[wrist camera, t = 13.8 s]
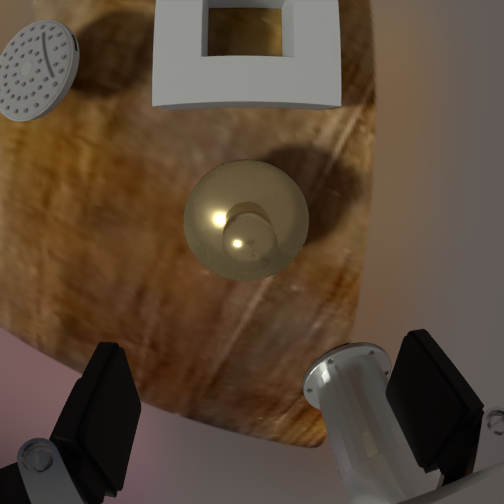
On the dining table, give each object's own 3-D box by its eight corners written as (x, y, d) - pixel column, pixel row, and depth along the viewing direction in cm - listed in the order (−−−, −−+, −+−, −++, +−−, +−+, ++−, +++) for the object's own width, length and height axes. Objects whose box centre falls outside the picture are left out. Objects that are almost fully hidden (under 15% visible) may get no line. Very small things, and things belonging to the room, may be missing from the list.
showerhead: (-23, 60, 15) (58, -3, 15) (18, 66, 22) (91, 18, 21) (-7, 144, 19) (78, 86, 18) (35, 137, 25) (112, 93, 25)
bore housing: (320, 110, 27) (341, 106, 21) (168, 110, 26) (152, 106, 20) (317, -16, 21) (334, -42, 16) (172, -18, 21) (161, -45, 15)
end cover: (293, 254, 32) (319, 309, 22) (195, 256, 32) (180, 313, 22) (297, 155, 28) (331, 169, 19) (189, 156, 28) (167, 171, 18)
